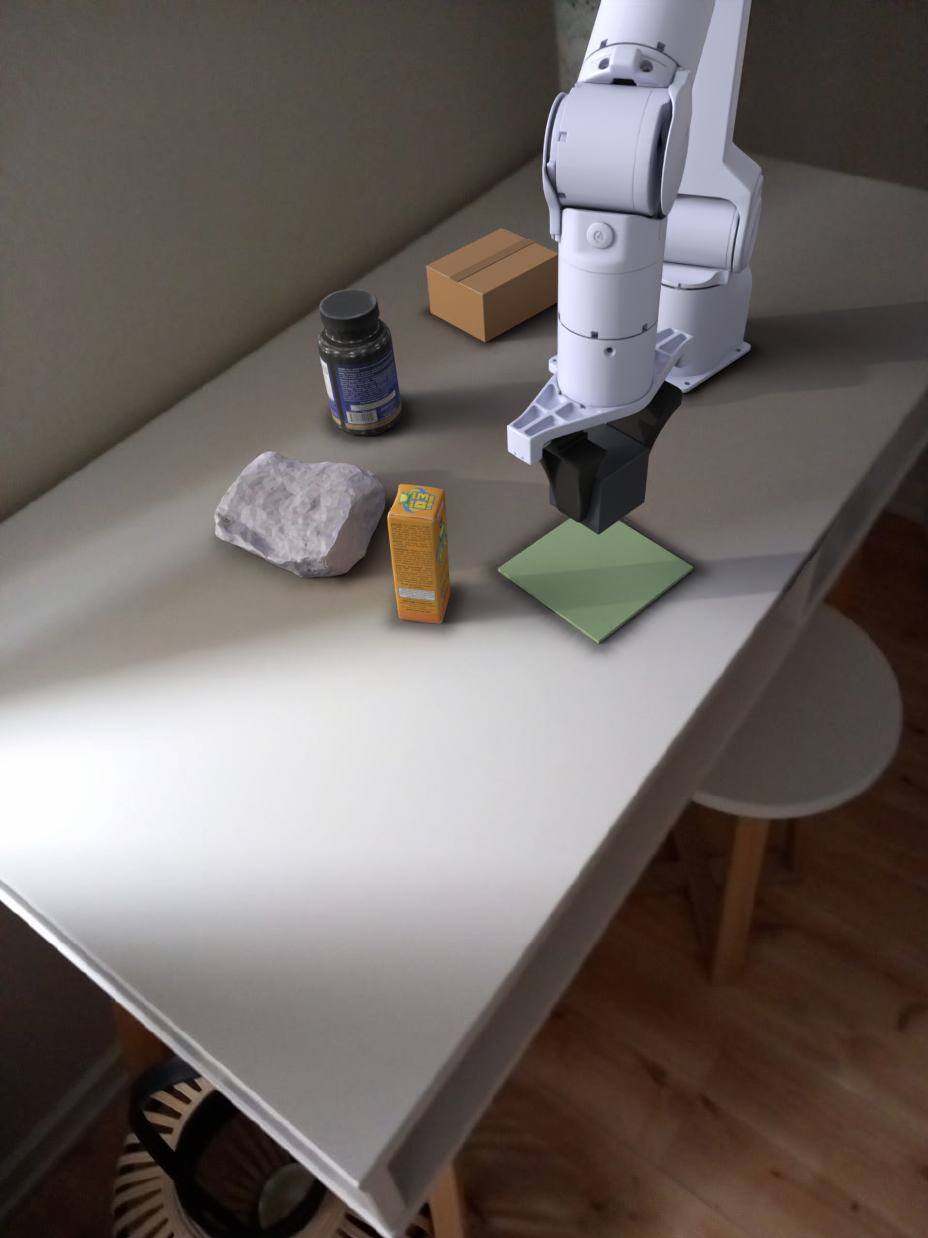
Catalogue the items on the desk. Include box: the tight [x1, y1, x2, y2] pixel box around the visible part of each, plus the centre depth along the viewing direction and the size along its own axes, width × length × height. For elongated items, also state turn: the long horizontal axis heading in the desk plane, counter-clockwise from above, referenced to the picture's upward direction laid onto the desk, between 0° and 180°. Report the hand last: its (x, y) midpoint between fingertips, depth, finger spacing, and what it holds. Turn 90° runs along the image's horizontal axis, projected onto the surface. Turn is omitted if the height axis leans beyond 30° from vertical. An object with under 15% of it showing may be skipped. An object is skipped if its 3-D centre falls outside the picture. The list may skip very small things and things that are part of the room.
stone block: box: [213, 450, 386, 579], centre depth 75 cm, size 12×5×10 cm
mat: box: [497, 517, 694, 644], centre depth 71 cm, size 10×10×1 cm
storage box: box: [425, 227, 559, 343], centre depth 94 cm, size 10×8×5 cm
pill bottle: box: [316, 288, 402, 437], centre depth 81 cm, size 6×6×11 cm
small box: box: [548, 423, 650, 535], centre depth 64 cm, size 5×5×5 cm
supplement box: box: [387, 483, 451, 624], centre depth 66 cm, size 3×3×10 cm
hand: (598, 495), depth 66 cm, fingers closed on small box, 4 cm apart
